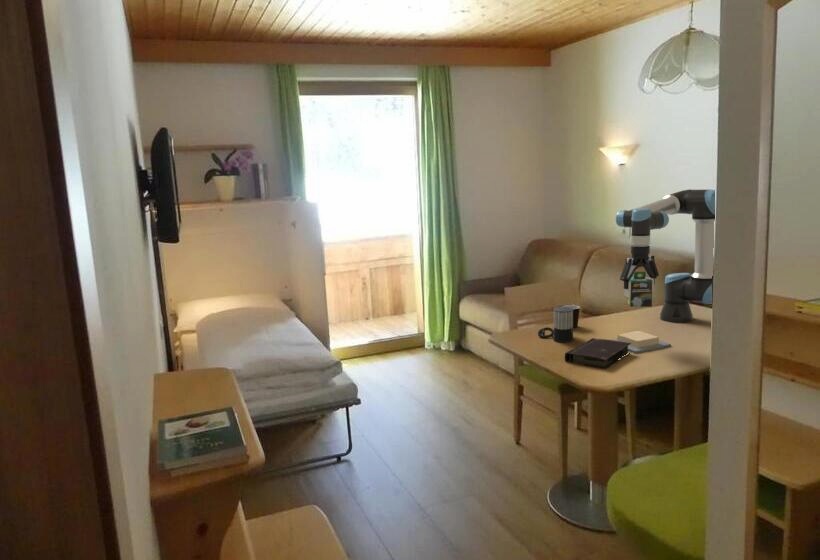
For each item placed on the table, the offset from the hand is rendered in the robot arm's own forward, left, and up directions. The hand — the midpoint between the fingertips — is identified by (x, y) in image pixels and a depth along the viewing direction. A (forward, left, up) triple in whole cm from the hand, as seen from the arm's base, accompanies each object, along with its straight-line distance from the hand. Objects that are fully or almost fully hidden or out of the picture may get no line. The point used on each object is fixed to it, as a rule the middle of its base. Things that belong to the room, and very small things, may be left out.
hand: (639, 294), depth 263 cm
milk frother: (+24, -26, -23) cm, 42 cm away
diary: (+26, +5, -23) cm, 35 cm away
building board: (0, 0, -22) cm, 22 cm away
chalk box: (0, 0, -5) cm, 5 cm away
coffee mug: (+5, -40, -23) cm, 46 cm away
